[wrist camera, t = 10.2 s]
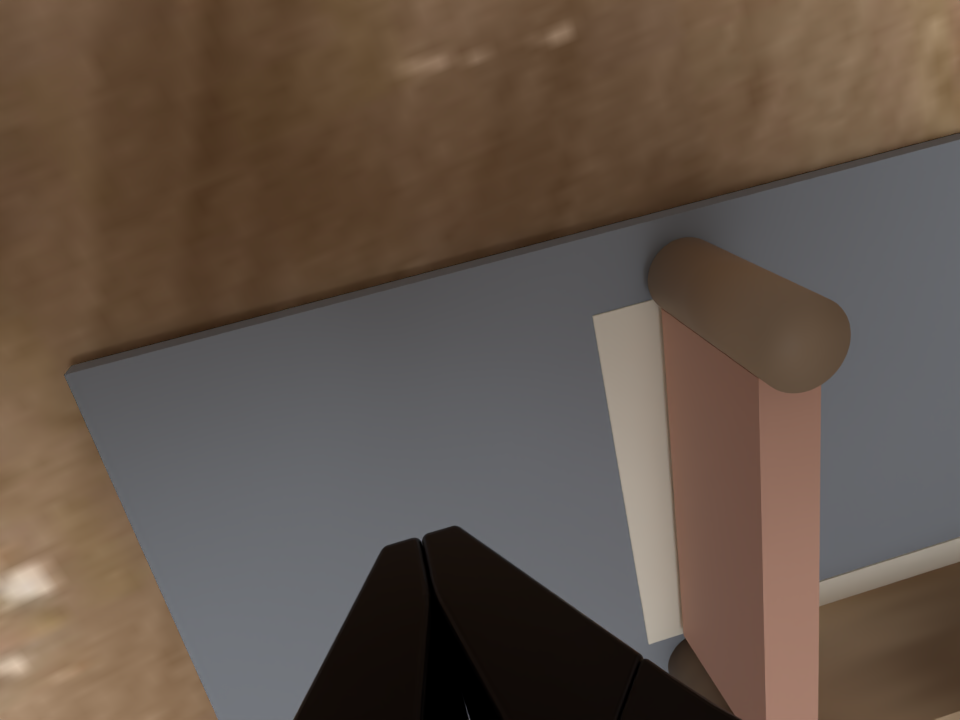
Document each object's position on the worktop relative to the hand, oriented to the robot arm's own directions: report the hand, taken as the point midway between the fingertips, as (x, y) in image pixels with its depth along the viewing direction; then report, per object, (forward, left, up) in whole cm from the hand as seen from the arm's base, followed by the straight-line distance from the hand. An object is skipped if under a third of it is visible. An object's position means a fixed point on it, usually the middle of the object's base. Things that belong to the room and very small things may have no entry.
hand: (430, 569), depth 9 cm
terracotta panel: (-6, +4, -8) cm, 11 cm away
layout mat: (-6, +6, -9) cm, 12 cm away
